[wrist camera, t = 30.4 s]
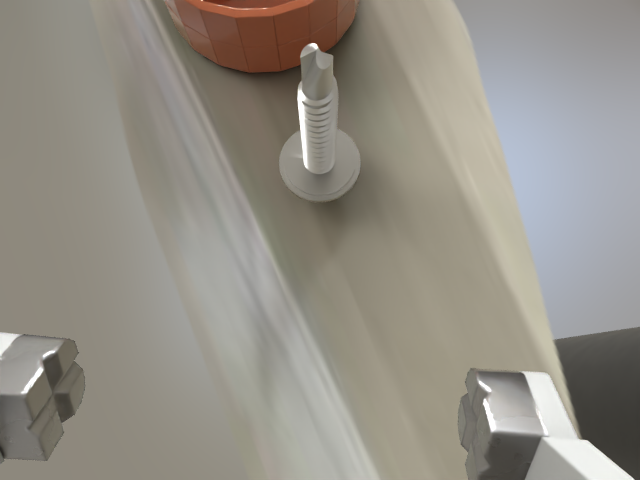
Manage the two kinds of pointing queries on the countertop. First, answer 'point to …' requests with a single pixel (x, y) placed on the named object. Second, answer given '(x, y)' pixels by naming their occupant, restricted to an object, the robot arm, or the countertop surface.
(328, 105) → the screw
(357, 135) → the countertop surface
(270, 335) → the countertop surface
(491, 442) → the robot arm
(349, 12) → the bowl
